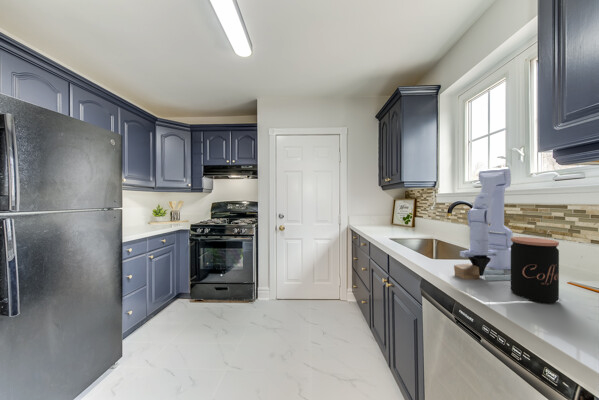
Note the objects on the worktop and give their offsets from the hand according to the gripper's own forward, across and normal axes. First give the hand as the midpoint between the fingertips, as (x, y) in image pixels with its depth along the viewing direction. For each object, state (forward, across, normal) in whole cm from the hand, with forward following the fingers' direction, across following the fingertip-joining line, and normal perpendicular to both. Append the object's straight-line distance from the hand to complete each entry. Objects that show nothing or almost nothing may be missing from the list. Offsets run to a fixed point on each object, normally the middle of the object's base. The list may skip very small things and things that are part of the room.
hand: (479, 275), depth 90 cm
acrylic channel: (+1, -6, 0) cm, 6 cm away
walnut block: (+1, +4, -1) cm, 4 cm away
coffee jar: (+2, -2, +17) cm, 17 cm away
